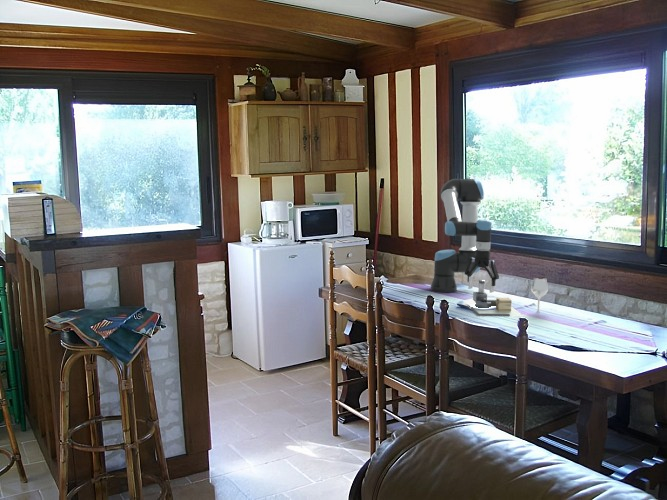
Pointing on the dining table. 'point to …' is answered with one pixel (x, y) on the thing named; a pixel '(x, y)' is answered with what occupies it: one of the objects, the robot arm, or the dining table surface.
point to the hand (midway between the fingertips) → (480, 290)
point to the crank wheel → (483, 300)
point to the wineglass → (539, 288)
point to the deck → (496, 312)
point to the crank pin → (481, 286)
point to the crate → (503, 304)
